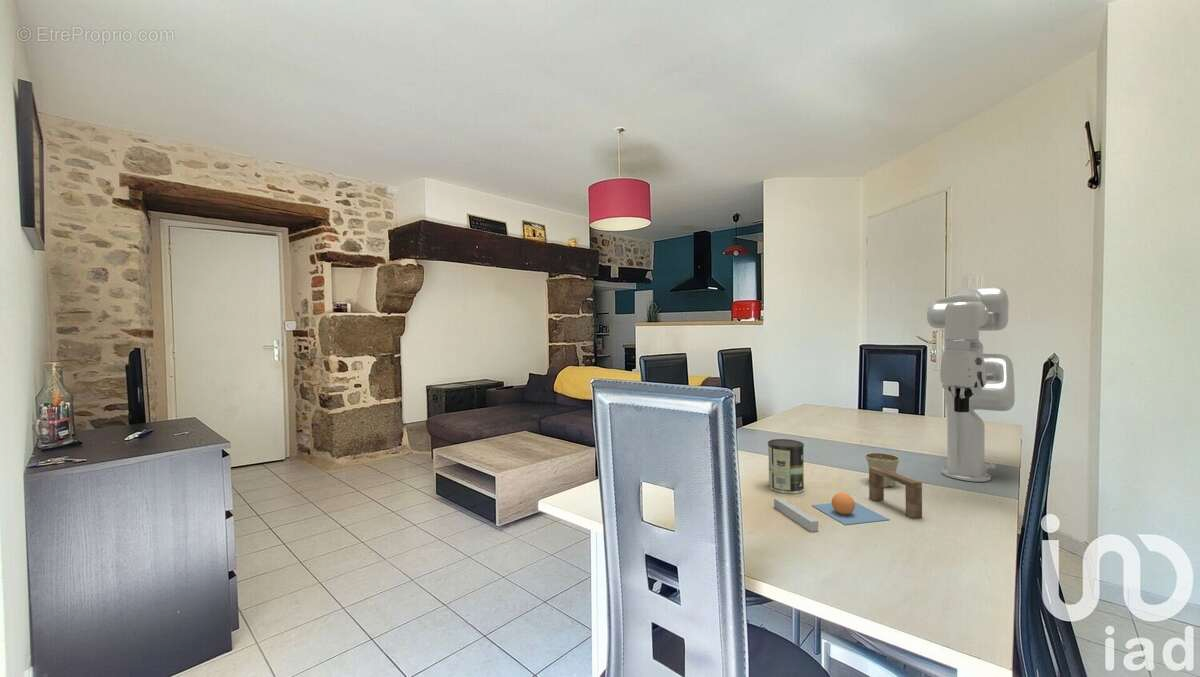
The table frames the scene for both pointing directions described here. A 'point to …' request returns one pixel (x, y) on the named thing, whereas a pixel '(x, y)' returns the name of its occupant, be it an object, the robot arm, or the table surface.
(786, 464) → the coffee can
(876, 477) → the bridge
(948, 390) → the robot arm
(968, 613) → the table surface
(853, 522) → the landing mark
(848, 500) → the ball
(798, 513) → the wall
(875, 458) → the flower pot
